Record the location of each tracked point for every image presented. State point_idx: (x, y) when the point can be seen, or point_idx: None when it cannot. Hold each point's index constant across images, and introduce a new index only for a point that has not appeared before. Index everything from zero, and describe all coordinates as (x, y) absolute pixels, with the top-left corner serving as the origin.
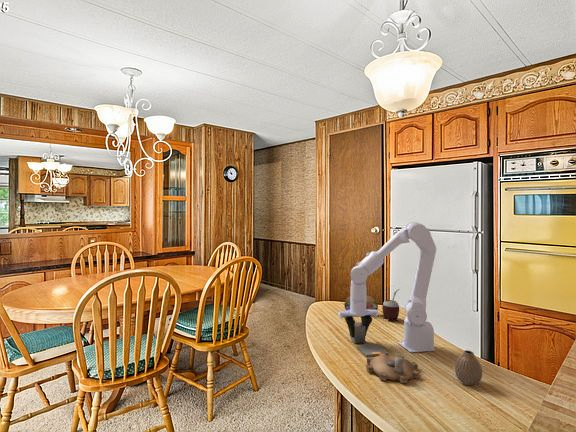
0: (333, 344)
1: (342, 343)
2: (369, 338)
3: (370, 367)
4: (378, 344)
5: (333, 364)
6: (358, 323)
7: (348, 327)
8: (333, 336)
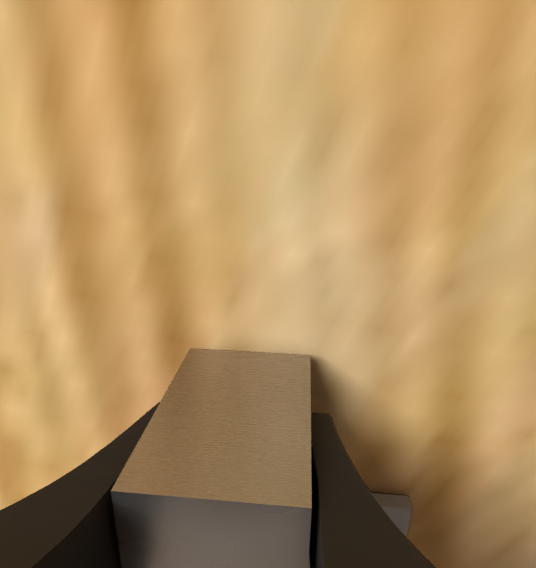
0: (3, 394)
1: (91, 393)
2: (422, 346)
3: None
4: (404, 527)
5: None
6: (237, 546)
7: (94, 462)
8: (30, 211)
